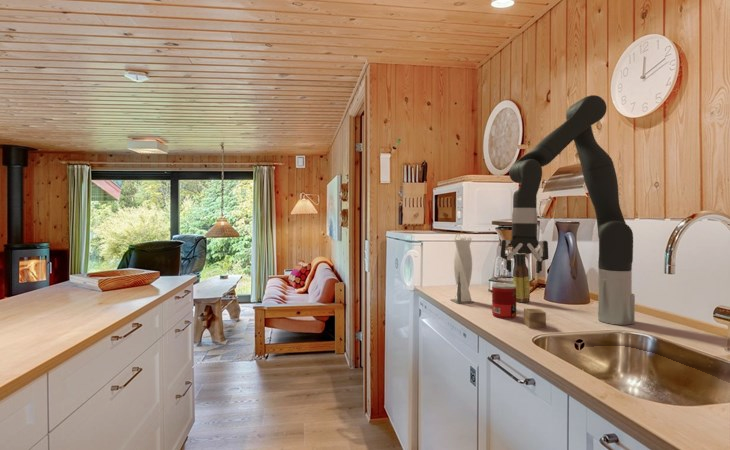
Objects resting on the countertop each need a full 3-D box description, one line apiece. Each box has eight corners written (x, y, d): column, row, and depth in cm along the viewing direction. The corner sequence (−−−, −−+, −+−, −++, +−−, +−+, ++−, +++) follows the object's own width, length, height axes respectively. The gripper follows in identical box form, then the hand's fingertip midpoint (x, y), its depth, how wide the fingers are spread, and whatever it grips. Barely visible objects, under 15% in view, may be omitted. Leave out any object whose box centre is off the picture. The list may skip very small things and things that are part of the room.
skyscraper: (448, 299, 163) (448, 233, 162) (466, 298, 165) (466, 233, 164) (458, 303, 155) (458, 234, 154) (476, 302, 157) (476, 234, 156)
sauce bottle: (527, 299, 161) (527, 252, 161) (532, 303, 155) (532, 253, 154) (510, 299, 162) (510, 252, 161) (515, 303, 156) (515, 253, 155)
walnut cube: (539, 324, 125) (539, 308, 125) (545, 328, 120) (545, 312, 120) (523, 324, 126) (523, 308, 125) (529, 328, 121) (529, 312, 120)
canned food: (516, 319, 130) (516, 287, 130) (492, 318, 133) (492, 286, 133) (515, 314, 138) (515, 283, 137) (492, 312, 140) (492, 282, 140)
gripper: (545, 222, 126) (545, 271, 126) (500, 222, 130) (499, 270, 130) (550, 222, 119) (549, 274, 119) (502, 221, 123) (501, 272, 123)
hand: (523, 272), depth 125 cm, fingers open, 8 cm apart
